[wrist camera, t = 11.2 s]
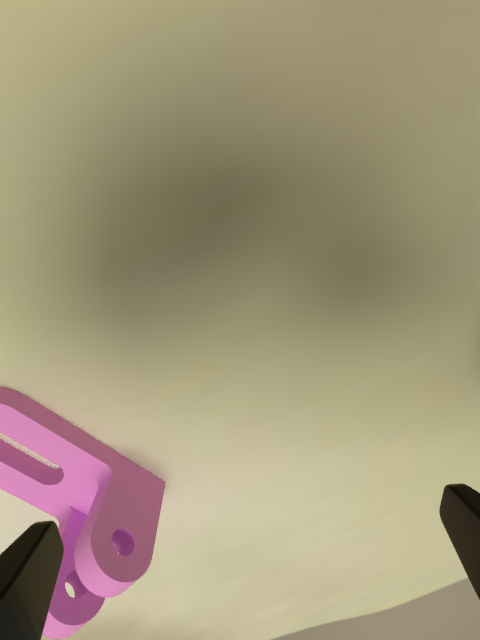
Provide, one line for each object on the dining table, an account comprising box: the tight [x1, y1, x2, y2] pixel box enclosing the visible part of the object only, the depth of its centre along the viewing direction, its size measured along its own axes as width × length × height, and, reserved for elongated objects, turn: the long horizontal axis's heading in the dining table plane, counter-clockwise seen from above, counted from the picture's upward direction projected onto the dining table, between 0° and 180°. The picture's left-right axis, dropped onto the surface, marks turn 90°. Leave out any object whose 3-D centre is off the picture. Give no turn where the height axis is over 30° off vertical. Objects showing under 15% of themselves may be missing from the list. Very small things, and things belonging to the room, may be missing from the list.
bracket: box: [0, 388, 165, 639], centre depth 19 cm, size 13×6×7 cm, turn 47°
